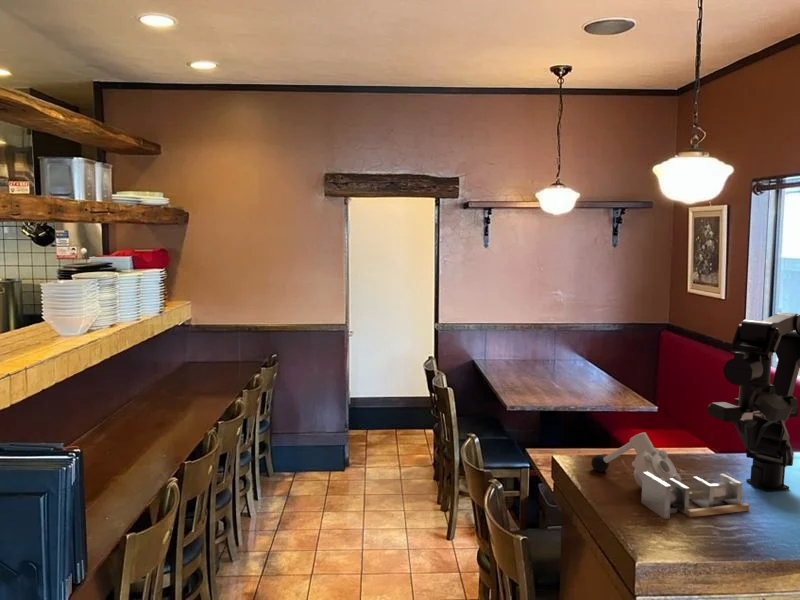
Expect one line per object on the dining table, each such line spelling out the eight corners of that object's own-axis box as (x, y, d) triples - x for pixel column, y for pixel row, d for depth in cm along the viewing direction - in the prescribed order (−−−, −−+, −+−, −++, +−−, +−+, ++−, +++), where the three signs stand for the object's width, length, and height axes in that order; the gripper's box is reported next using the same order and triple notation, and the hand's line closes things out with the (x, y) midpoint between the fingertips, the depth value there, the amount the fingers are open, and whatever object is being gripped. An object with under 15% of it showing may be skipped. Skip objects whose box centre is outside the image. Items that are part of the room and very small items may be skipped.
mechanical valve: (664, 492, 141) (629, 429, 148) (606, 521, 152) (577, 461, 160) (689, 484, 147) (655, 424, 154) (632, 513, 159) (603, 456, 166)
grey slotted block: (722, 497, 145) (723, 473, 145) (740, 507, 140) (742, 483, 139) (691, 500, 143) (692, 476, 143) (708, 511, 138) (710, 486, 137)
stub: (668, 500, 143) (669, 469, 143) (692, 515, 136) (694, 483, 135) (641, 502, 142) (642, 472, 141) (664, 518, 134) (665, 486, 133)
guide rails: (718, 493, 147) (719, 488, 147) (748, 510, 138) (749, 505, 138) (662, 499, 144) (663, 494, 143) (689, 517, 135) (690, 511, 135)
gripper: (746, 389, 130) (741, 464, 132) (822, 384, 135) (816, 457, 136) (708, 377, 141) (703, 446, 143) (779, 373, 145) (774, 440, 147)
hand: (750, 447), depth 142 cm, fingers closed
